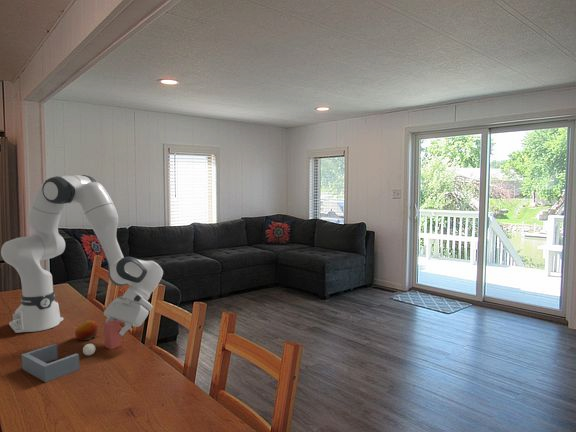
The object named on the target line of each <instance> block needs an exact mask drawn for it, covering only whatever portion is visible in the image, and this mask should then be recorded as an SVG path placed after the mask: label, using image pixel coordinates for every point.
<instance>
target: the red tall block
mask: <svg viewBox="0 0 576 432" xmlns="http://www.w3.org/2000/svg"><path fill="white" fill-rule="evenodd" d="M103 327H104V328H103V334H104V338H103V339H104V348H107V349H108V350H109V349H110V350H114V349H116V348H119V347H121V346H122V338H121V336H122V335H119V334H118V331H119V330H120V329H121V322H120V321H116V320H113V321H110V322H106V321H105V322H104V323H103Z"/></svg>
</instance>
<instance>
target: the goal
mask: <svg viewBox="0 0 576 432" xmlns="http://www.w3.org/2000/svg"><path fill="white" fill-rule="evenodd" d="M20 355H21V367H22V370H23V371H25V372H26V373H28V374H30V375H32V376H34V377H35V378H37V379H39V380H41V381H43V382H44V383H48V382H51V381H53V380H56V379H58V378H61V377H64V376H66V375H68V374H71V373H74V372H76V371H79V370H80V369H81V368H80V367H81V366H80V355H79V354H78V352H77V353H74V354H73V353H72V354H71V355H68V356H66V357H63V358H60V359H59V357H58V344H56V343H53V344H49V345H46V346H44V347H40V348H37V349H34V350H31V351H28V352H25V353H22V354H20ZM54 360H55V361H54Z"/></svg>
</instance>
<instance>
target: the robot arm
mask: <svg viewBox="0 0 576 432" xmlns="http://www.w3.org/2000/svg"><path fill="white" fill-rule="evenodd" d="M32 200H33V201H32V204H31V207H30V210H29V212H28V216H27V223H28V224H29V226H30V227H31V228H32V229H33V230H34V231H35V232H34V233H33V235H28V236H27V235H26V236H21V237H16V238H13V239H10V240H8V241H5V242H4V243H3V244H2V246H1V248H0V254H1V255H0V256H1V258H2V260H3V261H4V263H6V264H8V265H10V266H12V267H13V268H14V269H15V271H16V272H17V273H18V275H19V277H20V282H21V289H22V290H21V291H22V292H21V293H22V294H21V296H20V297H21V298H20V305H19V307H18V308H16V310H15V311H14V313H13V314H12V316H11V317H12V320H11V321H9V323H8V325H9V326H10V328H11V329H12V330H13V331H14V333H15V334H17V333H18V334H19V333H28V332H29V333H31V332H32V333H33V332H40V331H41V332H42V331H46V330H49V329H51V328H52V329H53V328H55V327H57V326H59V324H60V323H61V322H62V321H64V317H63V316H61V312H60V307H59V302H58V301H56V294H55V291H54V283H53V275H52V273H51V272H50V271H49V270H47V269H44V268H43V267H42V265H41V262H40V261H44V260H45V261H47V260H49V259H54V258H55V257H57V256H60V255H62V254H63V253H64V251H65V249H66V240H65V239H64V237H63V236H62V235H61V234H60V233H59V223H60V220H61V217H62V212H63V210H64V206H65V204H75V203H78V204H79V205H80V206H81V208H82V210H83V212H84V213H83V214H84V215H85V217H86V219H87V221H88V223H89V225H90V227H91V228H92V230H93V232H94V234H95V236H96V238H97V240H98V242H99V244H100V247H101V249H102V252H103V254H104V257H105V259H106V262H107V266H108V275H107V276H108V279H109V281H110V282H111V283H112V284H113V285H114V286H117V287H125V286H129V287H128V288H127V290H125V292H124V294H123V295H122V296H121V295H120V296H118V297H116V298H114V299H113V300H112V301H111V302H110V303H109V305H108V306H107V307H105V310H104V311H103V315H104V316H105V317H107V318H106V320H105V323H106V322H110V321H113V320H115V321H118V322H120V323H123V324H124V326H123V327H121V328H120V330H119V331H118V334H119V335H121V336H124V335H125V333H126V332H128V331H129V330H130V329H131V328H132V327H136V328H140V326H142V324H144V322H145V320H146V319H147V317H148V315H149V313H150V311H152V310H153V308H154V306H153V305H152V304H151V303H150V302H149V301H148V300H149V299H150V298H151V295H152V293H153V291H154V290H156V289H157V286H158V285H159V283H160V281H161V280H162V278H163V275H164V270H163V268H162V266H161V265H160V264H159V263H158V262H156V261H154V260H143V259H138V258H136V257H133V256H124V254H123V252H122V250H121V247H120V243H119V242H118V238H117V230H118V227H119V221H120V220H119V215H118V214H119V213H118V211H117V208H116V206H115V203H114V202H113V200H112V198H111V196H110V194H109V193H108V191H107V190H106V188H105V187H104V185H102V184H101V182H100V183H99V182H98V181H96V179H95V178H94V177H92V176H90V175H85V174H84V175H83V174H81V175H79V174H69V175H62V176H58V175H57V176H56V175H55V176H52V177H49V178H47V179H46V180H45V181H44V182H42V183H41V184H40V185H39V187H38V189H37V190H36V193H35V195H34V198H33V199H32ZM102 328H103V329H104V326H103V327H102Z"/></svg>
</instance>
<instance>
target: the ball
mask: <svg viewBox="0 0 576 432" xmlns="http://www.w3.org/2000/svg"><path fill="white" fill-rule="evenodd" d="M95 352H96V346H95V345H94V343H87V344H85V345H84V346H83V348H82V353H83V354H84V355H85V356H92V355H93V354H95Z"/></svg>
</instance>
